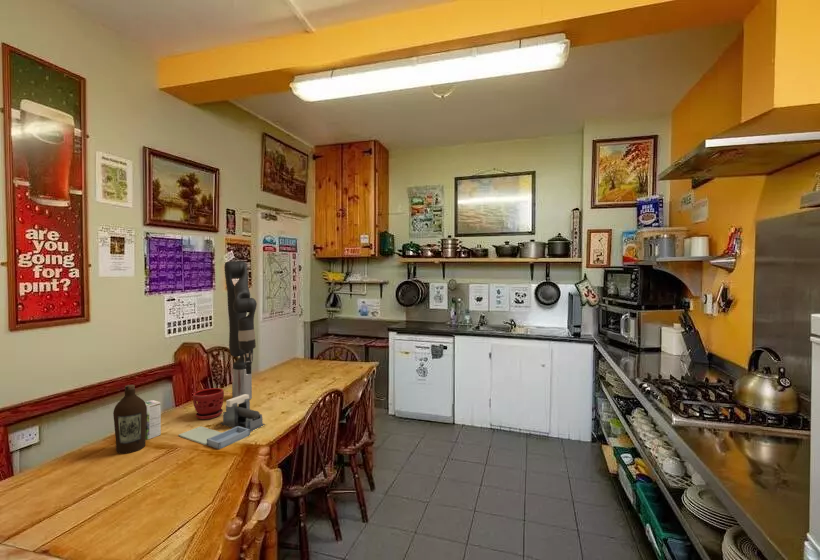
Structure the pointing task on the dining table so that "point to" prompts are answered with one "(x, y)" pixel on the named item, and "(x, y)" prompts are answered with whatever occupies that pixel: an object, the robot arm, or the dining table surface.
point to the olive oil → (130, 422)
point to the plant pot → (208, 403)
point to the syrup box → (153, 419)
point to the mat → (199, 434)
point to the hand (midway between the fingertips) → (248, 372)
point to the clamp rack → (240, 417)
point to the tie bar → (237, 400)
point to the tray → (228, 437)
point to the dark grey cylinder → (248, 413)
